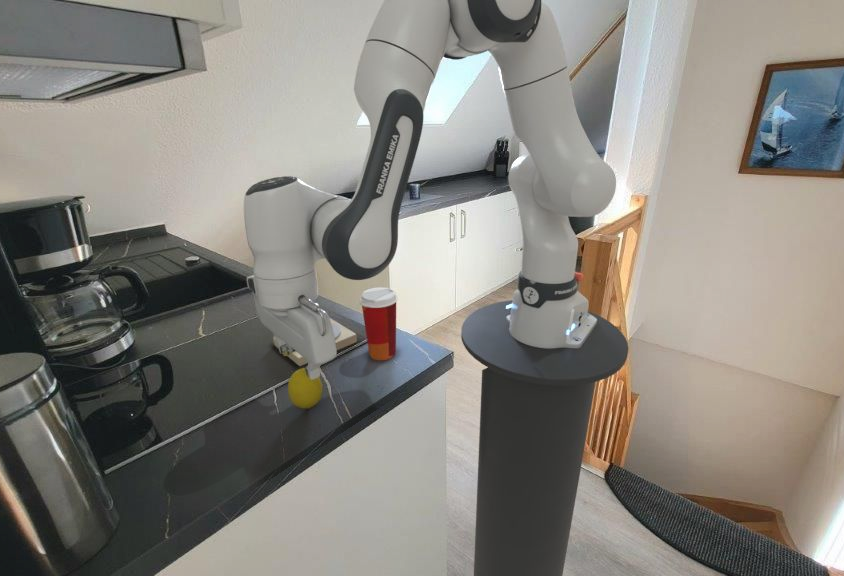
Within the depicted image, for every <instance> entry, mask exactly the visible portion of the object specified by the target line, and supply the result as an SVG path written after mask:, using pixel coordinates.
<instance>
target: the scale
mask: <svg viewBox="0 0 844 576" xmlns="http://www.w3.org/2000/svg"><path fill="white" fill-rule="evenodd" d="M329 318H330V321H331V324H332V328H333V333H334V338H335V344H336V350H337V351H339V350H342V349H344V348H346V347H348V346H351V345H353V344H355V343H357V342H358V338H357V333H355V332H354V331H352V330H351V329H349V328H347V327H345V326H344V325H342V324H341V323H339V322H337V321H336V320H335V319H332V318H331V317H329ZM272 340H273V345H274V346H275V347H276V348H277V349H278V350H279V346H278V344H277V342H276V339H275V337H274V336H273V337H272ZM292 349H293V348H292ZM286 357H288V359H290V360H291V361H293V363H295V364H296V365H297V366H299V367H302V366H304V365H308V362H307V361H306V359H305V358H304V357H303V356H301V355H300V354H299V353H298V352H296V351H295V350H294V349H293V353H292V354H290V355H287V356H286Z"/></svg>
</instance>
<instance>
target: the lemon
mask: <svg viewBox="0 0 844 576" xmlns="http://www.w3.org/2000/svg"><path fill="white" fill-rule="evenodd" d="M287 393H288V397H289V400H290V401H291V403H292V405H294V406H295V407H297V408H299V409H310V408H312V407H314V406H316V405H317V404H318V403H319V401H320V400H321V398H322V395H323V383H322V380H321V378H320V376H319V377H318V378H315V379H313V380H311V379H310V378H309V377H308V376H307V375H306V371H305V367H302V368H299V369H297V370H295V371H294V372H293V373H292V374H291V376H290V378H289V380H288V385H287Z"/></svg>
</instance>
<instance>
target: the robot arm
mask: <svg viewBox="0 0 844 576" xmlns="http://www.w3.org/2000/svg"><path fill="white" fill-rule="evenodd" d="M486 52H489V54H491V56H492V57H493V59H494V60H495V62H496V64H497V66H498V71H499V77H500V82H501V85H502V90H503V95H504V98H505V102H506V106H507V110H508V114H509V118H510V122H511V127H512V130H513V132H514V135H515V136H516V137H517V138H518V140H519V141H520V142H521V143H522V144H523V145H524V147H525V148H526V150H527V151H528V153H525V154H522V155H520V156H518V158H516V159H515V160H514V161H513V163H512V164H511V166H510V168H509V172H508V176H507V177H508V180H507V181H508V185H509V188H510V190H511V192H512V193H513V195H514V198H515V201H516V204H517V210H518V215H519V220H520V226H521V233H522V234H521V235H522V249H521V266H520V271H519V272H518V277H517V289H516V290H514V292H513V296H512V300H513V302H512V304H510V305H507V306H506V309H508V308H511V307H512V308H511V314H510V315H508V316H507V318H506V322H507V323H508V324H509V332H510V334H511V335H512V336H513V337H514V338H515V339H516V340H518V341H520V342H522V343H524V344H526V345H530V346H533V347H539V348H564V347H565V348H580V347H581V346H582V344H583V343H584V342H585V340H586V339H587V337H588V336H589V334H590V333H591V331H592V330H593V328H594V327H595V325H596V324H597V319H596V318H595V317H594V316H592V315H590V314H589V313H588V311H589V305H590V303H589V302H590V301H589V300H588V299H587V297H586V296H584V295H583V294H582V293H581V292H580V291H579V290H578V283H581V282H582V281H583V280H584V273H582V272H577V271H576V266H577V258H578V251H579V240H578V237H577V235H576V233H575V231H574V229H573V228H572V225H571V222H570V217H571V218H572V217H575V218H591V217H594V216H597V215H599V214H601V213H603V211H605V210H606V208H608V207H609V205H610V204H611V202H612V200H613V199H614V196H615V194H616V188H617V178H616V177H617V176H616V174H615V172H614V170H613V168H612V167H611V166H610V165H609V164H608V163H607V162H605V160H603V158H602V157H601V156H600V155H599V154H598V152H597V150H595V148H594V146H593V144H592V143H591V141H590V139H589V137H588V135H587V133H586V131H585V129H584V127H583V125H582V123H581V121H580V117H579V115H578V112H577V108H576V104H575V100H574V94H573V90H572V89H573V88H572V84H571V78H570V74H569V73H570V72H569V67H568V63H567V57H566V52H565V48H564V45H563V40H562V38H561V34H560V31H559V28H558V25H557V21H556V19H555V17H554V14H553V12H552V10H551V8H550V7H549V5H547V4H546V3H544V2H542V0H383V3H382V4H381V6H380V7H379V10H378V11H377V13H376V16H375V18H374V21H373V22H372V25H371V27H370V29H369V31H368V34H367V37H366V40H365V43H364V45H363V48H362V50H361V53H360V56H359V60H358V62H357V66H356V71H355V78H354V85H353V92H354V96H355V99H356V102H357V104H358V106H359V108H360V110H361V111H362V113H363V114H364V115H365V116H366V118H367V120H368V123H369V127H370V139H369V145H368V148H367V153H366V154H365V158H364V162H363V165H362V169H361V172H360V175H359V178H358V181H357V185H356V189H355V192H354V194H353V196H352V197H351V198H348V197H345V196H342V195H337V194H332V193H329V192H326V191H323V190H321V189H318V188H315V187H314V186H311V185H309V184H308V183H305V182H303V181H302V180H301V179H299V177H296V176H291V175H290V176H289V175H287V176H286V175H284V176H276V177H272V178H268V179H267V178H266V179H264V180H261V181H258V182H256V183H254V184H253V185H251V186H250V187H248V189H247V190H246V192H245V193H244V198H243V219H244V220H243V221H244V228H245V235H246V239H247V246H248V248H249V250H250V251H251V254H252V256H253V268H252V273H253V275H249V276H247V277H246V285H247V288H248V289H249V290H250V291H251V292H252V293H251V294H252V299H253V303H254V306H255V310H256V314H257V317H258V319H259V321H260V322H261V324H262V325H263V326H264V327H265V328H267V329H268V330H269V331H270V332H272V335H273V337H275V339H276V342H277V344H278V346H279V349H278V351H279V353H280V354H281V355H282V356H283V357H288V356H287V355H290V354H292V353H293V349H294V350H295V351H296V352H298V353H299V354H300V355H301V356H303V357H304V358H305V359H306V361H307V362H308V363H307V366H305V367H304V368H305V371H306V375H307V376H308V377H309V378H310V379H311V380H313V379H315V378H318V377H319V378H320V376H321V366H322V365H324V364H327V363H328V362H331V361H333V360H334V359H335V358H336V356H337V353H338V352H337V351H338V350H336V344H335V338H334V333H333V328H332V324H331V321H330V318H331V317H330V316H329V314H328V313H327V312H326V311H325V310H323V309H322V308H321V306H320V304H318V303H317V302H315V300H316V299H318V297H319V286H318V285H319V284H318V276H317V268H316V262H317V261H319V260H324V259H325V260H326V261H327V262H328V264H329V266H330V267H331V268H332V270H333V271H335V272H336V274H338V275H339V276H341V277H343V278H345V279H347V280H352V281H363V280H368V279H371V278H374V277H376V276H378V275H380V273H382V272H383V271H384V270H386V269H387V267H388V266H389V265H390V264H391V262H392V261H393V259H394V257H395V255H396V252H397V248H398V244H399V243H398V242H399V216H400V211H401V207H402V203H403V200H404V196H405V193H406V190H407V185H408V182H409V180H410V176H411V172H412V169H413V166H414V163H415V159H416V156H417V152H418V148H419V144H420V141H421V136H422V133H423V127H424V113H425V109H426V105H427V102H428V98H429V95H430V93H431V89H432V88H433V84H434V81H435V80H436V76H437V73H438V72H439V71H438V70H439V68H440V65H441V61H442V59H446V60H454V61H455V60H457V61H458V60H462V59H466V58H467V57H473V56H477V55H481V54H484V53H486ZM292 348H293V349H292Z"/></svg>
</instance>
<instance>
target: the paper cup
mask: <svg viewBox="0 0 844 576" xmlns="http://www.w3.org/2000/svg"><path fill="white" fill-rule="evenodd" d="M398 300H399V297H398V296H397V294H396V292H395V290H393V289H391V288H389V287H385V286H384V287H383V286H381V287H380V286H378V287H372V288H368V289H366V290H364V291H363V292H362V294H361V297H360V299H359V305H361V310H362V314H363V323H364V329H365V336H366V342H367V348H368V353H369V357H370V359H373V360H375V361H387V360H390V359H392V358H394V356H395V355H396V353H397V302H398Z"/></svg>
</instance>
